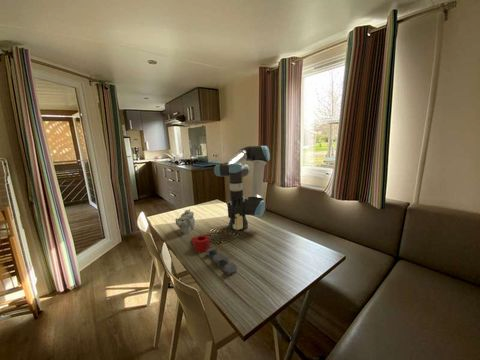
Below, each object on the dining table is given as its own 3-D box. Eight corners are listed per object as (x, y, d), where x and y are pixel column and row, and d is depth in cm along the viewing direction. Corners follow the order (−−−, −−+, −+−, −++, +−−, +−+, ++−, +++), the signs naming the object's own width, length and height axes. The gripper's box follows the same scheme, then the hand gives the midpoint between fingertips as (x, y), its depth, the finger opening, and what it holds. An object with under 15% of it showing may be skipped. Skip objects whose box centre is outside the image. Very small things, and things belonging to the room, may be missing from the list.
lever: (212, 248, 128) (211, 238, 127) (198, 253, 122) (198, 243, 121) (199, 238, 142) (199, 229, 141) (187, 242, 137) (186, 233, 135)
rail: (206, 254, 121) (206, 249, 120) (214, 252, 124) (214, 246, 123) (228, 275, 101) (227, 268, 101) (236, 271, 104) (236, 265, 104)
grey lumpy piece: (177, 238, 143) (175, 215, 140) (174, 231, 155) (172, 210, 152) (198, 233, 150) (196, 211, 146) (193, 227, 162) (192, 206, 158)
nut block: (233, 227, 123) (232, 215, 122) (238, 226, 125) (238, 213, 124) (237, 230, 120) (236, 217, 118) (242, 228, 122) (242, 215, 121)
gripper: (227, 193, 110) (229, 233, 115) (251, 188, 120) (252, 225, 124) (220, 191, 116) (222, 229, 121) (244, 186, 126) (245, 222, 130)
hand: (237, 227), depth 123 cm, fingers closed on nut block, 4 cm apart
